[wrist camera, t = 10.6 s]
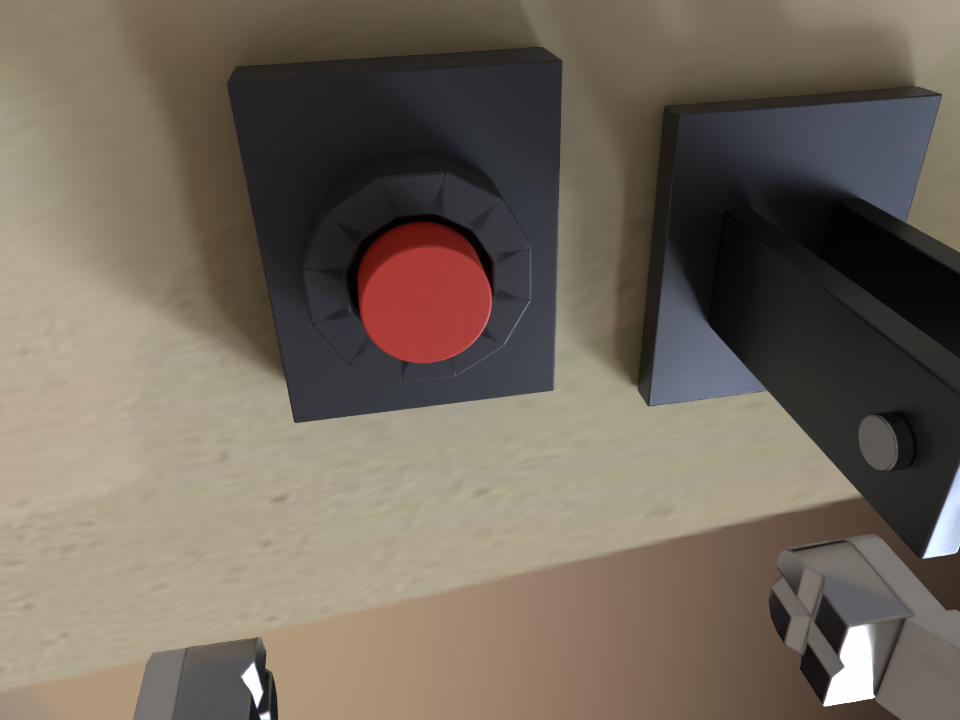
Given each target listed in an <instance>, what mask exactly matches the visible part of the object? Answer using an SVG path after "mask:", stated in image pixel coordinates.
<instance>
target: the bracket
mask: <svg viewBox="0 0 960 720" xmlns="http://www.w3.org/2000/svg"><path fill="white" fill-rule="evenodd" d="M941 97H942V94H940V93H937V92H933V91H930V90H927V89H924V88H921V87H908V88H895V89H882V90H869V91H855V92H842V93H829V94H816V95H803V96H790V97H777V98H764V99H750V100H737V101H724V102H711V103H698V104H685V105H672V106H665V108H664V118H663V128H662V139H661V149H660V160H659V170H658V181H657V191H656V202H655V212H654V223H653V233H652V244H651V254H650V265H649V275H648V286H647V296H646V307H645V317H644V328H643V338H642V349H641V359H640V370H639V380H638V391H639V393H640V395H641V396H642V398H643V399H644V401H645V402H646V404H647V406H656V405H663V404H671V403H679V402H686V401H694V400H702V399H709V398H717V397H724V396H732V395H740V394H747V393H755V392H763V391H768V392H769V393H770V394H771V395H772V396H773V397H774V398H775V399H776V400H777V402H778V403H779V404H780V405H781V406H782V407H783V408H784V409H785V410H786V412H787V413H788V414H789V415H790V416H791V417H792V418H793V419H794V420H795V421H796V423H797V424H798V425H799V426H800V427H801V428H802V429H803V430H804V431H805V433H806V434H807V435H808V436H809V437H810V438H811V439H812V440H813V441H814V442H815V444H816V445H817V446H818V447H819V448H820V449H821V450H822V451H823V452H824V454H825V455H826V456H827V457H828V458H829V459H830V460H831V461H832V462H833V463H834V465H835V466H836V467H837V468H838V469H839V470H840V471H841V472H842V473H843V475H844V476H845V477H846V478H847V479H848V480H849V481H850V482H851V483H852V484H853V486H854V487H855V488H856V489H857V490H858V491H859V492H860V493H861V494H862V496H863V497H864V498H865V499H866V500H867V501H868V502H869V503H870V504H871V505H872V507H873V508H874V509H875V510H876V511H877V512H878V513H879V514H880V515H881V517H882V518H883V519H884V520H885V521H886V522H887V523H888V524H889V525H890V526H891V527H892V529H893V530H894V531H895V532H896V533H897V534H898V535H899V536H900V538H901V539H902V540H903V541H904V542H905V543H906V544H907V545H908V546H909V547H910V549H911V550H912V551H913V552H914V553H915V554H916V555H917V556H918V557H919V558H920V559H925V558H930V557H937V556H942V555H949V554H954V553H956V552H957V551H958V549H959V546H960V253H959V252H958V251H956V250H954V249H952V248H950V247H948V246H947V245H945V244H943V243H941V242H939V241H938V240H936V239H934V238H932V237H930V236H929V235H927V234H925V233H923V232H921V231H920V230H918V229H916V228H914V227H912V226H911V225H909V224H907V223H906V221H907V218H908V214H909V211H910V207H911V203H912V200H913V196H914V193H915V189H916V186H917V182H918V179H919V175H920V171H921V168H922V164H923V161H924V157H925V154H926V150H927V147H928V143H929V140H930V136H931V132H932V129H933V125H934V122H935V118H936V115H937V111H938V108H939V104H940V100H941Z"/></svg>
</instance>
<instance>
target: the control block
mask: <svg viewBox="0 0 960 720" xmlns="http://www.w3.org/2000/svg"><path fill="white" fill-rule="evenodd" d="M227 87H228V92H229V97H230V102H231V107H232V112H233V117H234V122H235V127H236V132H237V137H238V142H239V147H240V152H241V157H242V162H243V167H244V172H245V177H246V182H247V187H248V192H249V197H250V202H251V207H252V212H253V217H254V222H255V227H256V232H257V237H258V242H259V248H260V253H261V258H262V263H263V268H264V273H265V278H266V283H267V288H268V293H269V298H270V303H271V308H272V313H273V318H274V323H275V328H276V333H277V338H278V343H279V348H280V353H281V358H282V363H283V368H284V373H285V378H286V383H287V388H288V393H289V398H290V403H291V408H292V414H293V419H294V422H295V423H300V422H308V421H315V420H323V419H331V418H339V417H347V416H355V415H363V414H371V413H379V412H387V411H395V410H403V409H411V408H419V407H427V406H434V405H442V404H450V403H458V402H466V401H474V400H482V399H490V398H498V397H506V396H514V395H522V394H530V393H538V392H546V391H553V390H554V369H555V329H556V289H557V249H558V209H559V169H560V130H561V90H562V60H561V59H559V58H558V57H556V56H555V55H553V54H552V53H550V52H549V51H547V50H546V49H544V48H543V47H536V48H520V49H505V50H489V51H473V52H458V53H442V54H426V55H411V56H395V57H380V58H364V59H348V60H333V61H317V62H301V63H286V64H270V65H254V66H239V67H235V69H234V71H233V73H232V75H231V76H230V78H229V80H228V82H227ZM411 222H433V223H438V224H442V225H444V226H447V227H449V228H451V229H453V230H455V231H457V232H458V233H460V234H461V235H462V236H463V237H464V238H465V239H467V240H468V242H469V243H470V244H471V245H472V247H473V248H474V250H475V252H476V253H477V256H478V258H479V260H480V263H481V265H482V267H483V270H484V272H485V274H486V277H487V279H488V281H489V284H490V288H491V294H492V307H491V312H490V316H489V319H488V322H487V324H486V326H485V328H484V330H483V331H482V333H481V334H480V336H479V337H478V338H477V339H476V340H475V341H474V342H473V343H472V344H471V345H470V346H469V347H468V348H466V349H465V350H464V351H462V352H460V353H459V354H457V355H455V356H453V357H450V358H448V359H445V360H441V361H437V362H431V363H414V362H408V361H404V360H401V359H398V358H396V357H393V356H391V355H389V354H388V353H386V352H384V351H383V350H382V349H380V348H379V347H378V346H377V345H376V344H375V343H374V342H373V341H372V340H371V338H370V337H369V336H368V334H367V332H366V330H365V329H364V326H363V323H362V321H361V316H360V308H359V296H358V283H357V278H358V270H359V266H360V263H361V260H362V258H363V256H364V254H365V252H366V251H367V249H368V248H369V247H370V245H371V244H372V243H373V242H374V241H375V240H376V239H377V238H378V237H379V236H381V235H382V234H383V233H385V232H387V231H388V230H390V229H392V228H394V227H397V226H399V225H402V224H406V223H411Z"/></svg>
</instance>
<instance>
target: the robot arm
mask: <svg viewBox="0 0 960 720" xmlns="http://www.w3.org/2000/svg"><path fill="white" fill-rule="evenodd" d="M776 567H777V568H778V570H779V571H780V573H781V574H782V576H780V577H779V579H777V581H776V582H775V583H774V584H773V585H772V586H771V590H770V596H769V606H770V612H771V618H772V621H773V623H774V625H775V628H776V630H777V632H778V634H779V636H780V637H781V638H782V640H783V642H784V644H785V645H786V646H788V647H789V648H791V649H793V650H794V651H796V652H798V653H799V654H801V655H802V657H801V666H800V670H801V671H802V673H803V674H804V676H805V677H806V679H807V681H808V682H809V684H810V685H811V687H812V688H813V690H814V692H815V693H816V695H817V696H818V698H819V699H820V701H821V702H822V704H823V706H827V705H833V704H839V703H845V702H851V701H856V700H863V699H869V698H875V697H876V699H875V701H877V702H878V703H879V704H881V705H882V706H883V707H885V708H886V709H887V710H889V711H890V712H892V713H893V714H894V715H896V716H897V717H898V718H900V719H901V720H960V612H959V611H957V610H948V611H946V610H945V609H944V608H943V607H942V605H941V604H940V603H939V602H938V601H937V600H936V599H935V598H934V597H933V596H932V594H931V593H930V592H929V591H928V590H927V589H926V588H925V586H924V585H923V584H922V583H921V582H920V581H919V580H918V579H917V578H916V577H915V575H914V574H912V572H911V571H910V570H909V569H908V568H907V567H906V565H905V564H904V563H903V562H902V561H901V560H900V559H899V558H898V556H897V555H896V554H895V553H894V552H893V551H892V550H891V549H890V548H889V546H888V545H887V544H886V543H885V542H884V541H883V540H882V539H881V538H880V537H878V536H876V535H874V534H868V535H862V536H856V537H851V538H844V539H836V540H830V541H825V542H819V543H813V544H808V545H802V546H797V547H791V548H785V549H784V550H783V551H782V552H781V553H780V554H779V556H778V560H777V564H776ZM265 663H266V650H265V647H264V644H263V641H262V638H259V637H258V638H251V639H244V640H236V641H229V642H222V643H215V644H208V645H201V646H194V647H188V648H182V649H175V650H169V651H162V652H155V653H152V655H151V657H150V659H149V660H148V662H147V664H146V668H145V672H144V676H143V681H142V684H141V689H140V693H139V697H138V701H137V705H136V710H135V714H134V718H133V720H278V707H277V694H276V688H275V682H274V679H273V675H272V672H271V671H269V670H267V669H266V668H265Z"/></svg>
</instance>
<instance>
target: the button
mask: <svg viewBox="0 0 960 720" xmlns="http://www.w3.org/2000/svg"><path fill="white" fill-rule="evenodd" d="M357 283H358V296H359V308H360V316H361V321H362V323H363V326H364V329H365V330H366V332H367V334H368V336H369V337H370V338H371V340H372V341H373V342H374V343H375V344H376V345H377V346H378V347H379V348H380V349H382V350H383V351H384V352H386V353H388V354H389V355H391V356H393V357H396V358H398V359H401V360H404V361H408V362H414V363H431V362H437V361H441V360H445V359H448V358H450V357H453V356H455V355H457V354H459V353H460V352H462V351H464V350H465V349H466V348H468V347H469V346H470V345H471V344H472V343H473V342H474V341H475V340H476V339H477V338H478V337H479V336H480V334H481V333H482V331H483V330H484V328H485V326H486V324H487V322H488V319H489V316H490V312H491V307H492V294H491V288H490V284H489V281H488V279H487V277H486V274H485V272H484V270H483V267H482V265H481V263H480V260H479V258H478V256H477V253H476V252H475V250H474V248H473V247H472V245H471V244H470V243H469V242H468V240H467V239H465V238H464V237H463V236H462V235H461V234H460V233H458V232H457V231H455V230H453V229H451V228H449V227H447V226H444V225H442V224H438V223H433V222H411V223H406V224H402V225H399V226H397V227H394V228H392V229H390V230H388V231H387V232H385V233H383V234H382V235H381V236H379V237H378V238H377V239H376V240H375V241H374V242H373V243H372V244H371V245H370V247H369V248H368V249H367V251H366V252H365V254H364V256H363V258H362V260H361V263H360V266H359V270H358V278H357Z"/></svg>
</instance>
